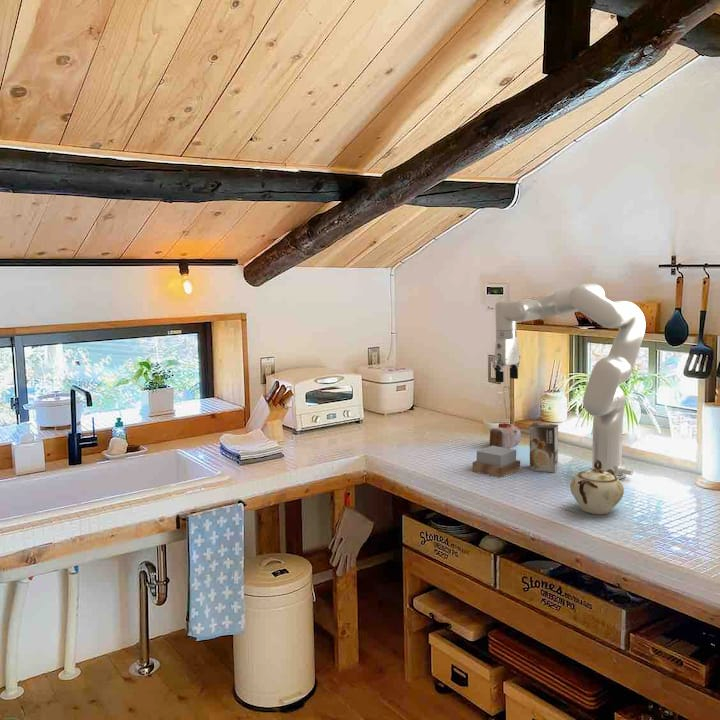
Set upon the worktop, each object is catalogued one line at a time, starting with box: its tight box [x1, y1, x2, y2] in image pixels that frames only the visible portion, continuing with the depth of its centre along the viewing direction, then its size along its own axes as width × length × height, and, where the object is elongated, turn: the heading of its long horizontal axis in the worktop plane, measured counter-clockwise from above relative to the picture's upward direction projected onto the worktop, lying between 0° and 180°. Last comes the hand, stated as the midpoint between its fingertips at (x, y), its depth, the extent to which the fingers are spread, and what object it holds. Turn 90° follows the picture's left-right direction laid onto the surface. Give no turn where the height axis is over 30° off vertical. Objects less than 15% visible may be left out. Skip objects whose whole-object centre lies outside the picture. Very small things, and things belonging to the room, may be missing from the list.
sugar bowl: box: [569, 460, 625, 515], centre depth 209 cm, size 20×15×15 cm
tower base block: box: [472, 459, 521, 478], centre depth 252 cm, size 12×12×4 cm
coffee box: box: [529, 422, 559, 473], centre depth 252 cm, size 9×6×16 cm
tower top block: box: [476, 445, 517, 467], centre depth 252 cm, size 10×10×4 cm
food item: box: [488, 422, 522, 449], centre depth 285 cm, size 14×8×10 cm, turn 137°
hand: (506, 380), depth 266 cm, fingers open, 9 cm apart
